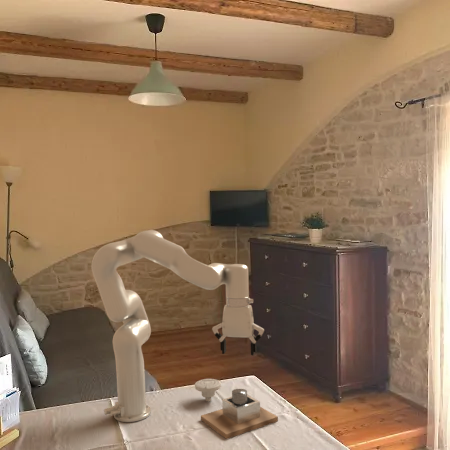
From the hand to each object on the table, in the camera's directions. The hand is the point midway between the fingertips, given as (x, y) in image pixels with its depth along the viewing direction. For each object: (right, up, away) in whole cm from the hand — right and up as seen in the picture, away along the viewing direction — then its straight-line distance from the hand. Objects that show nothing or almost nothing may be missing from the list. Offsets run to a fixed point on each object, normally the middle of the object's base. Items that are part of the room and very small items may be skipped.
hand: (238, 353), depth 160 cm
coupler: (+1, -21, +1) cm, 21 cm away
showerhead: (-11, -22, +17) cm, 30 cm away
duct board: (0, -22, +1) cm, 22 cm away
